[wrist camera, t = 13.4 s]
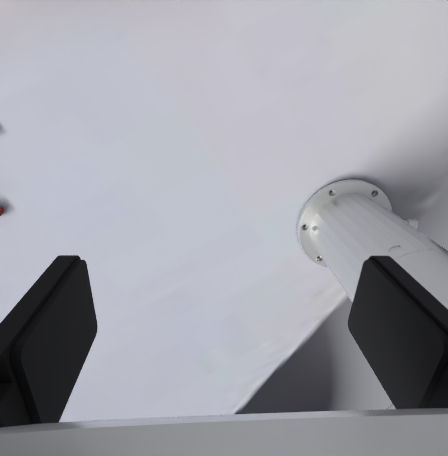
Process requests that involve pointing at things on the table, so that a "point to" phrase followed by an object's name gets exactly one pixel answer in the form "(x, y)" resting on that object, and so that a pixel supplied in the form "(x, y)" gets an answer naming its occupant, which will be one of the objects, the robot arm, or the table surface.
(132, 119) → the table surface
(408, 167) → the table surface
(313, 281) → the table surface
